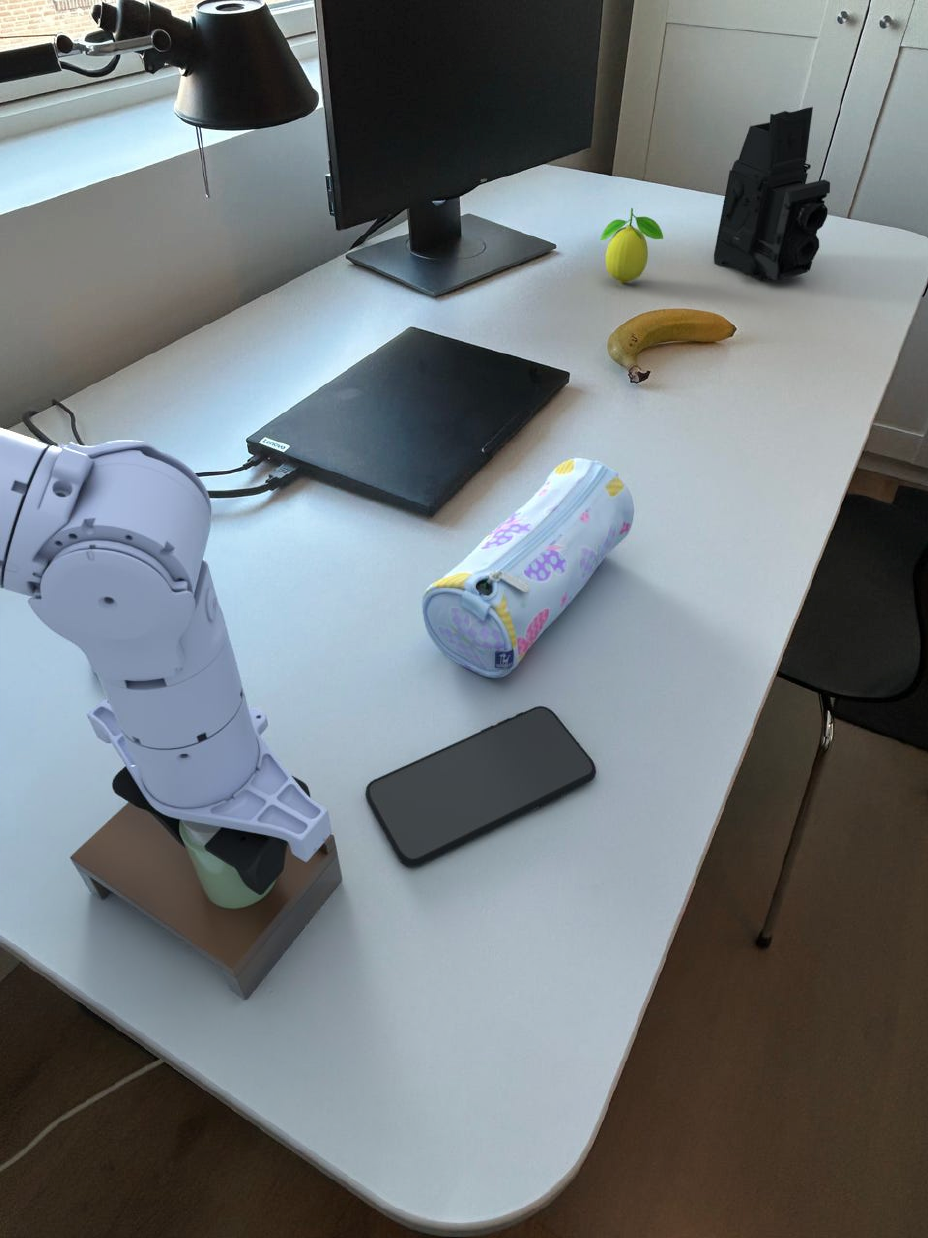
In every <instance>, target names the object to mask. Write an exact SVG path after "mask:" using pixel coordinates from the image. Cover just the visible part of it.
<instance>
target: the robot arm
mask: <svg viewBox="0 0 928 1238" xmlns="http://www.w3.org/2000/svg"><path fill="white" fill-rule="evenodd" d="M211 518H212V503H211V498H210V494H209V493H208V490H207V488H206V486H205V484H204V483H203V481H202V480H201V478H200V477H199V476H198V475H197V474H196V472H195V471H193V470H192V469H191V467H189V466H188V465H187V464H186V463H184V462H182V460H179V459H178V458H176V457H175V456H173V455H171V454H169V453H167V452H164V451H162V450H160V449H158V448H157V447H156V446H154V445H152V444H151V443H149V442H146V441H141V440H131V439H129V440H128V439H124V440H123V439H120V440H112V441H107V442H103V443H100V444H99V443H98V444H96V445H91V446H90V445H89V446H88V445H81V444H77V443H74V442H72V441H69V442H68V444H67V445H65V444H62V443H59V444H57V446H56V445H51V444H49V443H47V442H44V441H40V440H37V439H35V438H32V437H29V436H25V435H24V434H20V433H17V432H14V431H10V430H8V429H4V428H2V427H0V589H4V590H5V591H10V592H12V593H17V594H20V595H25V596H27V597H30V598H28V600H27V603H28V605H29V607H30V608H31V610H32V612H33V613H34V614H35V615H36V617H37V618H38V620H40V621H41V622H42V623H43V624H44V625H45V626H46V627H48V628H49V629H50V630H51V631H53V632H54V633H56V634H57V635H59V637H62V638H64V639H65V640H66V641H68V642H70V643H72V644H74V645H75V646H76V647H77V648H79V649H80V650H81V651H82V653H84V655H85V657H86V658H87V661H88V663H89V666H90V668H91V670H92V672H93V673H95V672H96V673H95V675H96V674H97V675H96V677H97V679H98V681H99V683H100V685H101V688H102V690H103V692H104V695H105V697H106V698H105V699H103V700H102V701H101V702H100V703H98V704H97V705H96V706H95V707H94V708H92V709H91V710H90V711H89V712H87V713H86V716H87V719H88V721H89V724H90V725H91V727H92V730H93V731H94V733H95V737H96V738H97V739H99V740H101V741H102V742H104V743H106V744H111V745H112V747H113V749H114V750H115V751H116V753H117V755H118V756H119V758H120V760H121V761H122V762H123V764H124V767H123V768H122V769H120V770H119V771H118V772H117V773H116V775H115V776H114V777H113V780H112V783H111V784H112V785H111V786H112V790H113V793H114V794H115V795H117V796H119V797H120V798H122V799H123V800H124V801H126V802H127V803H128V802H130V803H131V804H133V805H134V806H136V807H138V808H141V809H144V810H146V811H148V812H149V813H150V814H152V815H153V816H154V817H155V818H156V819H157V820H158V821H159V822H160V823H161V824H162V825H163V826H164V827H165V828H166V829H167V830H168V832H169V833H170V834H171V835H172V836H173V837H174V838H175V839H176V840H177V841H178V842H179V843H180V844H181V845H182V846H183V847H185V845H184V842H183V840H182V838H181V835H180V831H179V823H180V819H181V820H187V821H192V822H198V823H203V824H209V825H214V826H220V827H221V828H220V829H219V831H218V832H217V833H216V834H215V835H214V836H213V837H212V838H211V839H210V840H209V841H208V842H207V843H206V844H205V846H204V847H205V850H206V851H208V852H209V853H211V854H212V855H214V856H216V857H217V858H219V859H220V860H222V861H224V862H225V863H227V864H228V865H230V866H232V867H234V868H235V869H236V871H237V872H238V874H239V876H240V877H241V879H242V881H243V882H244V884H245V885H246V886H247V887H248V888H249V889H251V890H252V891H254V892H255V893H257V894H259V895H263V894H264V892H265V891H266V890H267V889H268V888H269V887H270V885H271V884H272V883H273V882H274V881H275V880H276V878H277V877H278V876H279V875H280V874H281V873H282V871H283V870H284V863H285V855H286V850H287V845H288V843H289V845H290V849H291V852H292V854H293V855H295V856H296V857H298V858H300V859H301V860H303V861H305V862H307V861H308V860H309V859H310V858H311V857H312V856H313V854H314V853H315V852H316V851H317V850H318V849H319V848H320V847H321V845H322V844H323V843H324V841H325V840H326V839H327V838H328V837H329V835H330V834H332V833H333V830H332V825H331V820H330V816H329V810H328V809H327V808H325V807H324V806H322V805H321V804H319V803H318V802H316V801H315V800H314V799H312V798H311V797H312V796H311V792H310V789H309V786H308V785H307V783H306V782H304V781H303V780H301V779H299V778H297V777H295V776H294V775H292V774H291V773H290V772H289V771H288V770H287V768H286V767H285V765H283V763H282V762H281V761H280V760H279V759H280V758H278V757H277V756H276V753H274V751H273V750H272V749H271V748H270V746H269V745H268V744H267V743H266V741H265V740H264V738H263V737H261V735H262V734H263V733H264V732H265V731H266V730H267V728H268V726H269V721H268V718H267V717H268V716H267V714H265V712H263V711H262V710H260V709H258V708H256V707H255V706H253V705H251V704H249V703H248V702H247V698H246V695H245V691H244V687H243V682H242V679H241V676H240V671H239V668H238V663H237V661H236V656H235V652H234V650H233V649H234V648H233V646H232V642H231V638H230V634H229V631H228V627H227V623H226V620H225V616H224V612H223V610H222V607H221V605H220V604H219V600H218V597H217V592H216V590H215V585H214V581H213V578H212V574H211V570H210V567H209V564H208V562H207V561H206V560H205V559H204V556H205V552H206V548H207V543H208V539H209V536H210V531H211V528H212V527H211V525H212V519H211ZM185 848H186V847H185Z"/></svg>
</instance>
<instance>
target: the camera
mask: <svg viewBox="0 0 928 1238" xmlns="http://www.w3.org/2000/svg"><path fill="white" fill-rule="evenodd" d="M813 109H814V106H811V107H805V108H802V109H799V110H795V111H787V110H784V111H780V112H778V113H775V114H773V113H770V115H769V122H764V123H759V124H754V125H750V126H749V128H748V131H747V133H746V136H745V140H744V142H743V145H742V147H741V151H740V154H739V158H738V159H735V160H734V162H733V164H732V167H731V170H729V172H728V177H727V178H728V179H727V182H726V189H725V194H724V198H723V204H722V209H721V215H720V220H719V226H718V230H717V237H716V242H715V247H714V252H713V261H714V262H713V263H714V265H717V266H721V265H725V266H727V267H730V268H732V269H734V270H736V271H738V272H740V273H743V274H744V275H745V276H749V277H751V278H753V279H755V280H757V281H759V282H761V281H765V280H768V279H771V280H773V281H777V280H781V281H783V280H787V279H790V278H792V277H796V276H800V275H802V274H806V273H808V271H809V272H810V271H811V268H812V264H813V261H814V259H815V257H816V255H817V253H818V251H819V249H820V238H819V237H818V236H817V234H818V231H819V230H820V229H821V228H823V226H824V225H825V222H826V220H827V218H828V212H829V211H828V210H829V209H828V207H827V206H826V205H825V200H824V199H825V198H827V197H828V194H830V193H831V182H830V181H829V180H826V179H820V180H817V181H816V180H815V181H812V182H807V179H808V175H809V173H808V170H811V165H812V164H809V163H807V159H808V158H807V157H808V149H809V142H810V141H809V140H810V134H811V126H812V120H813V119H812V117H813Z"/></svg>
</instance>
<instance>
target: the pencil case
mask: <svg viewBox="0 0 928 1238" xmlns="http://www.w3.org/2000/svg"><path fill="white" fill-rule="evenodd" d="M634 516H635V505H634V500H633V497H632V494H631V492H630V489H629V488H628V487H627V485H626V484H625V483H624V481H623V480H622V479H621V478H620V477H619V473H618V472H617V471H615V470H614V469H612V468H611V467H609V466H608V465H606V464H605V463H603V462H601V461H600V460H597V459H596V460H594V461H592V460H590V459H587V458H584V457H575V458H570V459H568V460H565V461H563V462H561V463H560V464H558V465H557V466H556V467H555V468H554V469H553V470H552V471H551V472H550V474H549V476H548V477H547V478H546V480H545V482H544V484H543V485H542V486H541V487H540V489H539V490H537V491H536V492H535V493H534V495H532V497H531V499H530V500H528V501H526V503H524V505H522V506H521V507H519V509H517V510H516V511H515V512H514V513H512V514H511V515H510V516H509V517H508V518H506V519H505V520H504V521H503V522H501V523H500V524H499V525H497V527H495V528H494V529H493V530H492V531H490V533H489V534H488V535H487V536H485V538H484V539H483V540H482V541H481V542H480V543H479V544H478V545H476V546H477V547H475V548H474V549H473V550H472V551H471V552H470V553H469V554H468V555H467V556H466V557H465V558H464V559H463V560H462V561H461V562H460V563H459V564H457V565H456V566H455V567H453V568H452V569H451V570H450V571H448V573H446V574H445V575H444V576H443V577H442V578H440V579H437V580H436V581H434V582H432V583H431V584H430V585H429V586H428V587H427V588H426V590H425V591H424V592H423V595H422V600H421V609H422V611H421V612H422V616H423V622H424V626H425V629H426V631H427V634H428V636H429V637H430V639H431V640H432V642H433V644H434V645H435V646H436V647H437V648H438V650H439V651H440V652H441V653H443V655H444V656H446V657H447V658H448V659H450V660H452V661H453V662H455V663H457V664H459V666H462V667H464V668H466V669H468V670H470V671H472V672H473V673H476V674H478V675H480V676H482V677H487V678H491V679H499V678H503V677H506V676H507V675H509V674H510V673H511V672H512V671H513V669H516V668H517V666H518V665H519V664H520V663H521V661H522V660H523V658H524V657H525V655H526V654H527V652H528V650H529V649H530V648H531V647H532V646H533V644H535V643H536V641H537V640H538V639H539V637H540V636H541V635H542V634H543V633H544V631H546V629H547V628H548V627H549V626H550V625H551V624H552V623H553V622H554V621H555V620H556V619H557V618H558V617H559V615H561V614H562V613H563V611H564V610H565V609H566V608H567V607H568V606H569V605H570V603H572V601H573V600H574V598H576V596H577V595H578V594H579V593H580V591H581V590H582V589H583V588H584V587H585V585H586V584H587V582H588V581H589V580H590V578H591V576H592V575H593V574H594V572H595V571H596V570H597V568H598V567H599V566H600V565H601V564H602V562H603V561H604V558H605V557H606V556H607V555H608V554H609V553H611V551H613V549H614V548H616V547H617V546H618V545H619V544H620V543H622V541H624V539H625V538H626V537H627V536H628V535H629V533H630V531H631V529H632V527H633V522H634Z"/></svg>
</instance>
